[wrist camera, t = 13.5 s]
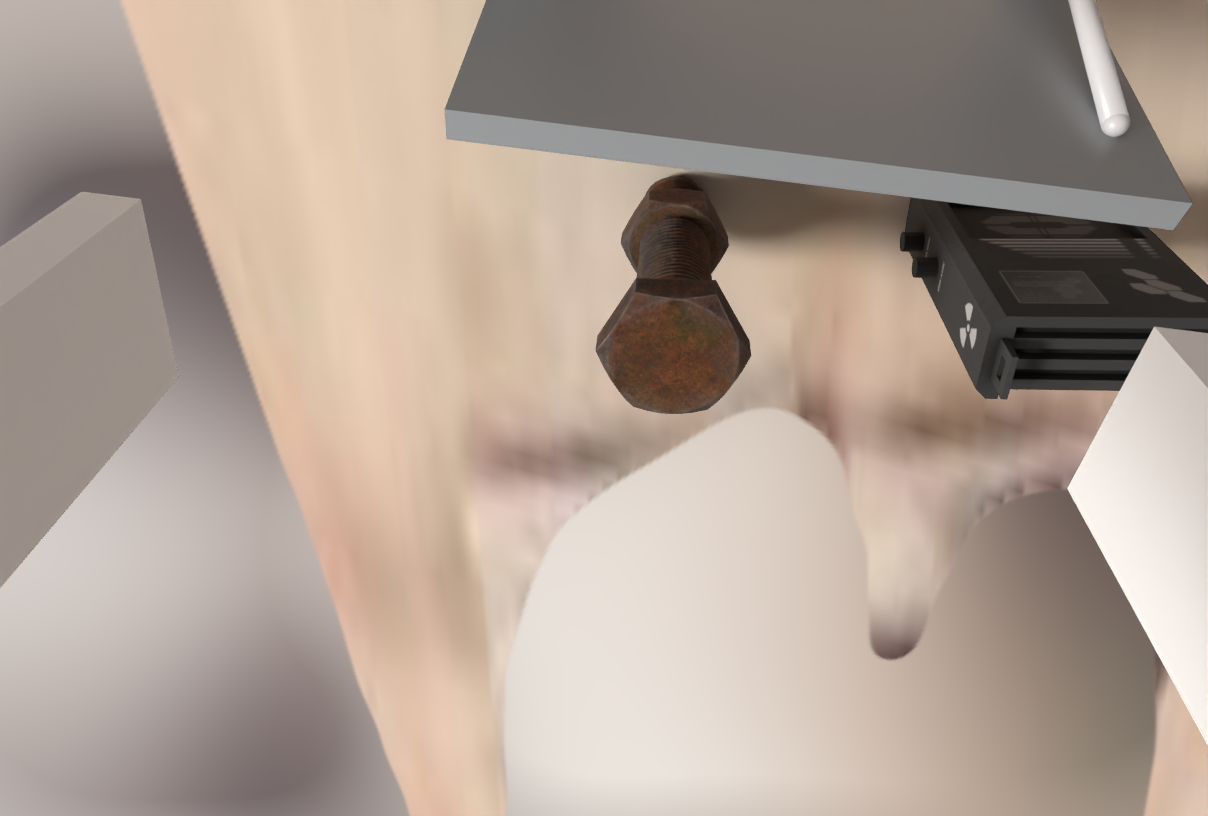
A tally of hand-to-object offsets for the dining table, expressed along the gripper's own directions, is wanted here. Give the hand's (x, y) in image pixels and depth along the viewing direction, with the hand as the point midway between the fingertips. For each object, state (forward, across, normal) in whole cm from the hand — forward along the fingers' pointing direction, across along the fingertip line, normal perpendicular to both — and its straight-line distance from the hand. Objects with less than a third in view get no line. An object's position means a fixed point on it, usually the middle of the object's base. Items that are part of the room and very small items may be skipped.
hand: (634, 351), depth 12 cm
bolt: (+33, -2, +11) cm, 35 cm away
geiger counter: (+33, -18, +10) cm, 39 cm away
